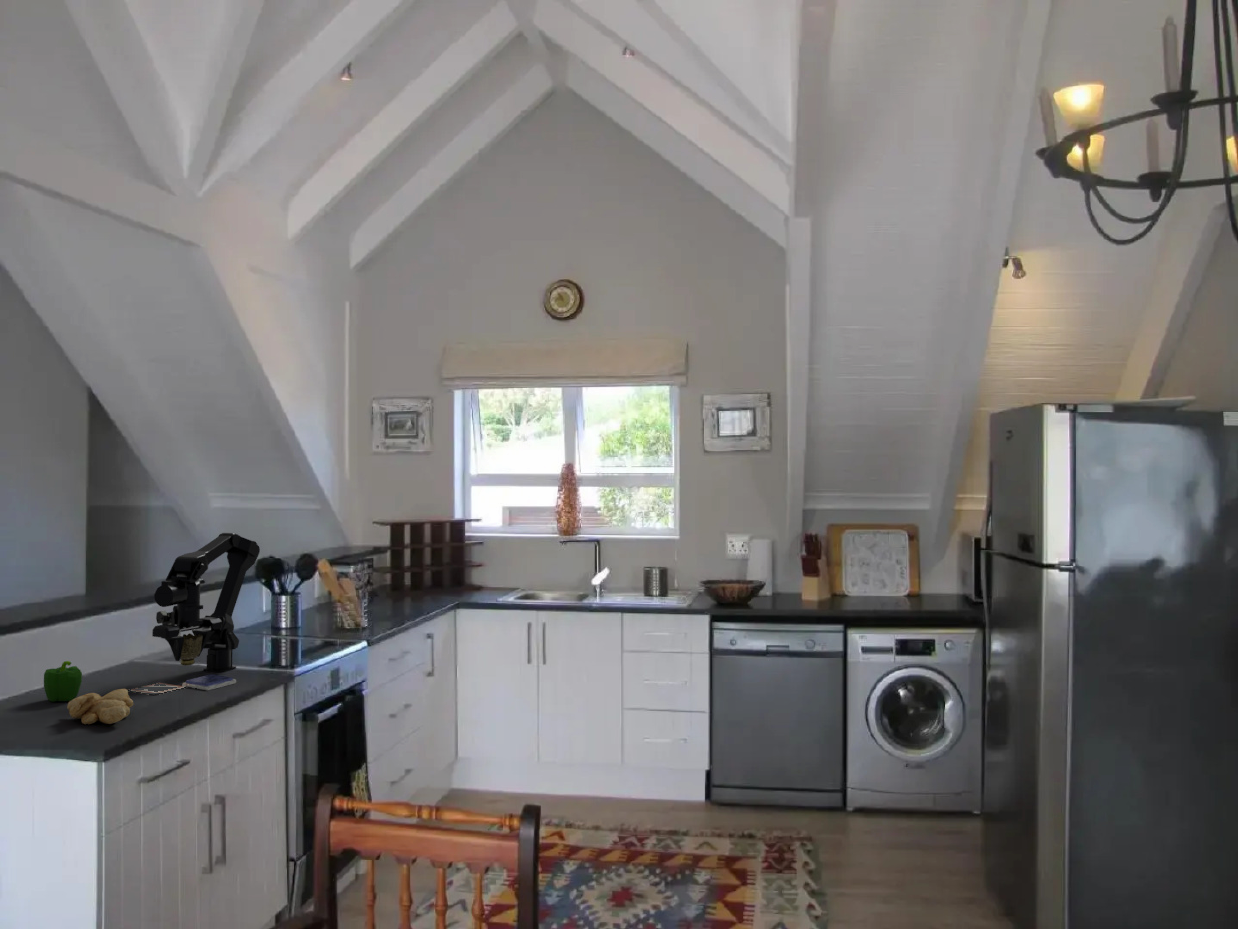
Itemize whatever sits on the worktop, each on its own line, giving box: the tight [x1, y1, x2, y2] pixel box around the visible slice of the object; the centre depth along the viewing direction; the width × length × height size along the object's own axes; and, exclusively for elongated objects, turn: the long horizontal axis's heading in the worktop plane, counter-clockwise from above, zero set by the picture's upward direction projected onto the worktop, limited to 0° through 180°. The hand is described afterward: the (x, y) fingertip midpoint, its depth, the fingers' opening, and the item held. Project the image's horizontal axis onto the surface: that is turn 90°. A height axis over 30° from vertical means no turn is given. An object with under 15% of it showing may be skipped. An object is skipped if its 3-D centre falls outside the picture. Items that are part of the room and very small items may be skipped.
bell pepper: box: [43, 660, 83, 703], centre depth 238 cm, size 8×8×10 cm
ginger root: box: [66, 688, 134, 725], centre depth 221 cm, size 16×16×8 cm
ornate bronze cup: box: [179, 633, 203, 667], centre depth 262 cm, size 8×7×8 cm
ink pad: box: [182, 673, 237, 691], centre depth 257 cm, size 10×9×2 cm
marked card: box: [131, 682, 185, 694], centre depth 251 cm, size 10×10×1 cm
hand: (187, 658), depth 262 cm, fingers closed on ornate bronze cup, 6 cm apart
